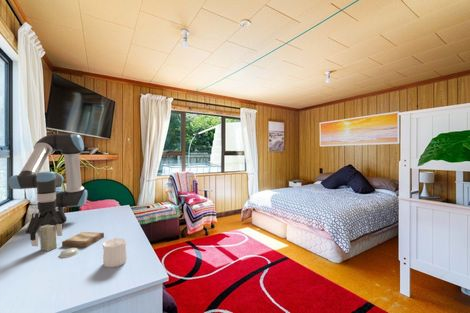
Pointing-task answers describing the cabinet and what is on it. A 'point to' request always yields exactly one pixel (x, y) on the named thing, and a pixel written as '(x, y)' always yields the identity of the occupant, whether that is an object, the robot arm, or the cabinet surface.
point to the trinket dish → (69, 252)
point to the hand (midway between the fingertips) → (48, 240)
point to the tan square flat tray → (82, 239)
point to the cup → (114, 252)
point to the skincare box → (48, 237)
